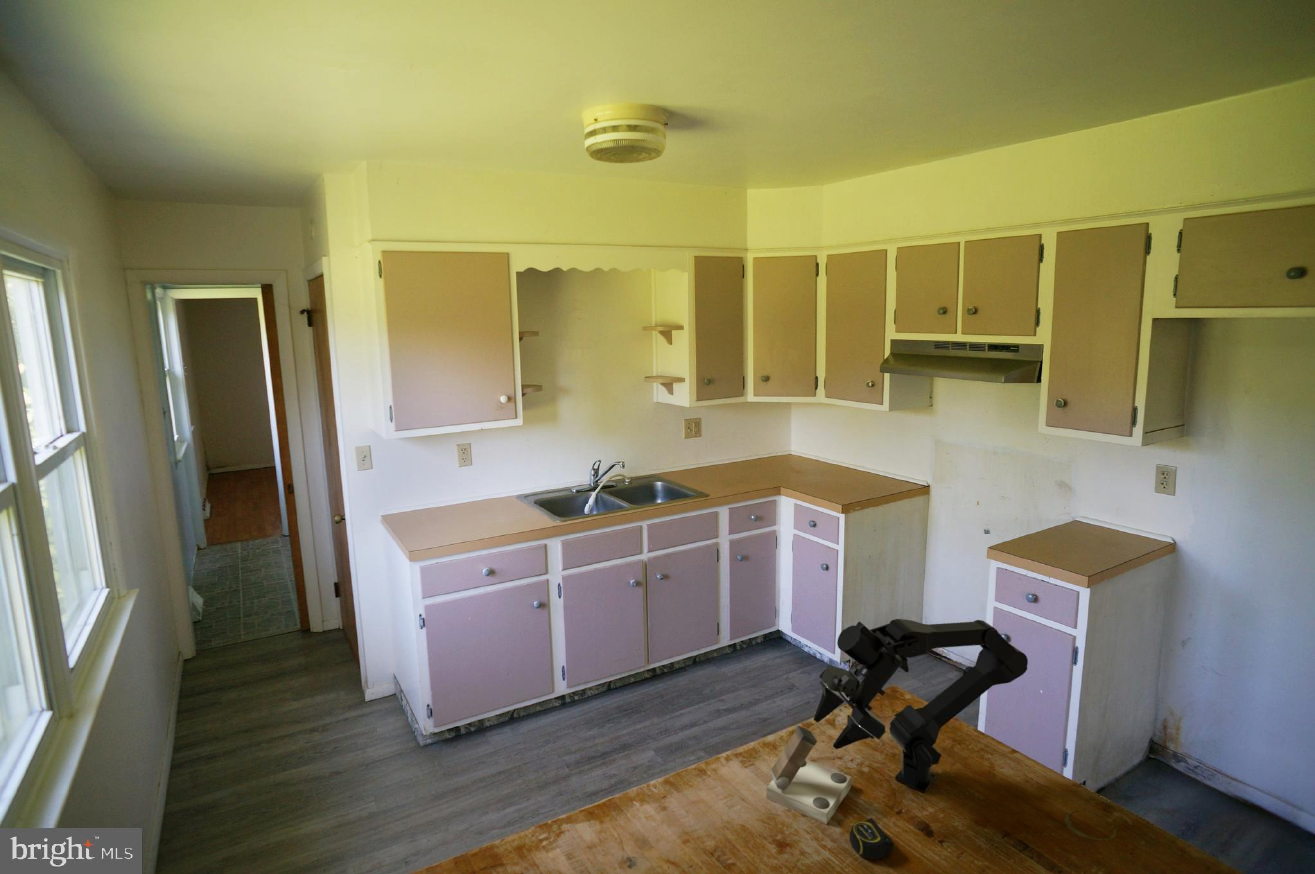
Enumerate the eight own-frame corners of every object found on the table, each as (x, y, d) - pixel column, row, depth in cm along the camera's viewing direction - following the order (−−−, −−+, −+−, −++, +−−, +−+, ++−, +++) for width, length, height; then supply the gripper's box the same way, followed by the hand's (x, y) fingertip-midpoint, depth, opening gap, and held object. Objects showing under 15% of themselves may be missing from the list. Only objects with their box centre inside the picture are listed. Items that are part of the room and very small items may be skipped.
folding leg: (780, 780, 145) (811, 731, 144) (786, 791, 142) (817, 741, 141) (767, 775, 144) (797, 725, 143) (772, 786, 141) (803, 735, 140)
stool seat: (793, 764, 154) (794, 753, 153) (850, 787, 146) (851, 776, 146) (766, 798, 143) (766, 786, 143) (826, 824, 136) (826, 812, 135)
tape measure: (895, 858, 128) (896, 840, 127) (863, 867, 126) (864, 849, 125) (873, 831, 134) (874, 814, 133) (842, 840, 132) (842, 823, 131)
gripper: (826, 633, 148) (779, 689, 149) (869, 678, 130) (816, 742, 131) (861, 660, 151) (816, 715, 151) (908, 708, 133) (856, 770, 133)
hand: (824, 734), depth 142 cm, fingers open, 9 cm apart
